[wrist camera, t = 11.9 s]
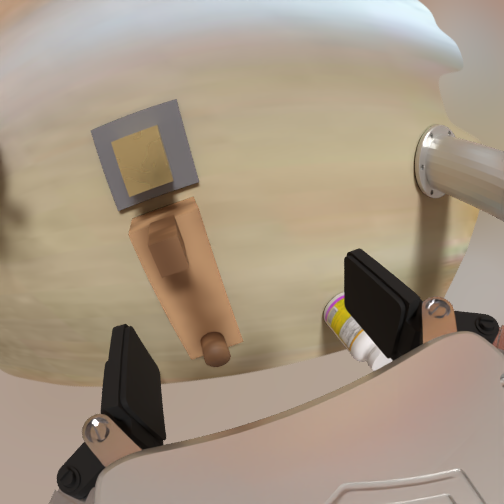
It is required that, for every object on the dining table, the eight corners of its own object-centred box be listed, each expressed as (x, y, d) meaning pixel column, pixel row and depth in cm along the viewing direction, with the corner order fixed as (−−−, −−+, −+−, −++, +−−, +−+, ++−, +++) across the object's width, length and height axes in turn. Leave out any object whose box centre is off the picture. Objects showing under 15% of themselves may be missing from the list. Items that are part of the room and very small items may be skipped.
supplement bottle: (359, 307, 46) (404, 355, 35) (327, 329, 46) (369, 382, 35) (351, 282, 42) (403, 332, 31) (316, 305, 42) (362, 363, 31)
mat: (176, 99, 24) (176, 99, 24) (198, 180, 29) (199, 181, 28) (92, 130, 23) (90, 130, 22) (119, 209, 27) (118, 211, 27)
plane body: (192, 194, 29) (206, 225, 21) (234, 319, 38) (255, 370, 30) (131, 216, 28) (121, 255, 20) (186, 336, 37) (198, 390, 29)
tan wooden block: (157, 124, 24) (156, 125, 20) (171, 171, 27) (173, 181, 23) (119, 138, 24) (111, 142, 19) (134, 184, 26) (129, 197, 22)
